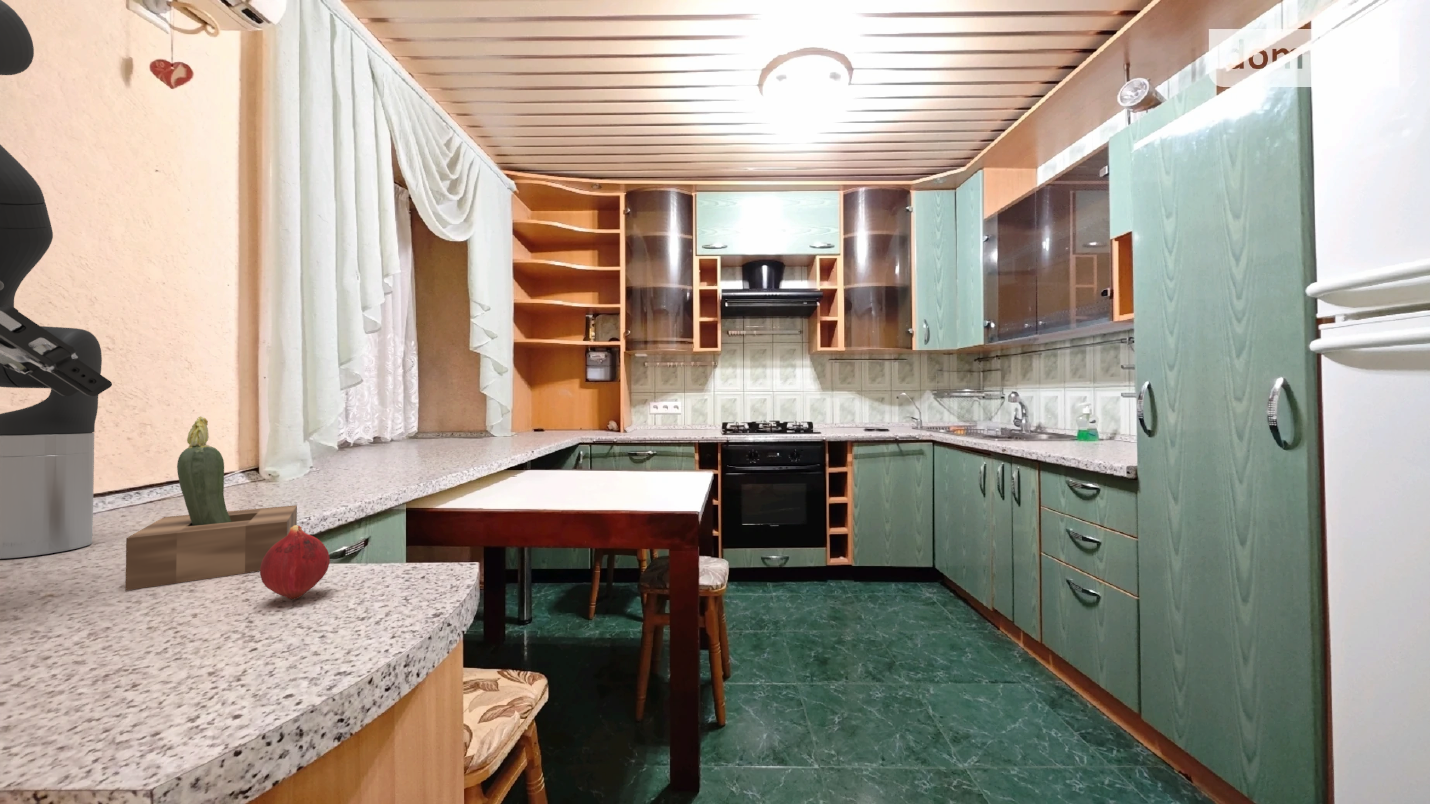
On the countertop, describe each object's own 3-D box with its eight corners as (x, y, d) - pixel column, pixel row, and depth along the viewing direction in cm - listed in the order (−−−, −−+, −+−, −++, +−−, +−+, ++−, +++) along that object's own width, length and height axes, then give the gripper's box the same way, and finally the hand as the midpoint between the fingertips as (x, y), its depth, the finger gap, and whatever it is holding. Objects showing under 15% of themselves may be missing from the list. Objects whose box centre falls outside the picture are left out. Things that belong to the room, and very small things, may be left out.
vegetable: (212, 570, 63) (182, 417, 62) (187, 571, 64) (157, 420, 63) (251, 556, 68) (223, 413, 66) (227, 557, 68) (199, 416, 67)
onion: (340, 594, 55) (341, 522, 55) (277, 613, 50) (278, 534, 50) (311, 586, 58) (312, 518, 58) (248, 603, 52) (249, 528, 52)
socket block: (163, 560, 68) (164, 516, 68) (296, 543, 76) (296, 505, 76) (125, 590, 56) (126, 538, 56) (286, 567, 65) (287, 521, 65)
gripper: (-35, 235, 45) (149, 368, 55) (-67, 254, 51) (103, 370, 61) (-153, 279, 40) (72, 416, 50) (-172, 294, 46) (31, 413, 57)
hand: (89, 391), depth 56 cm, fingers open, 8 cm apart
